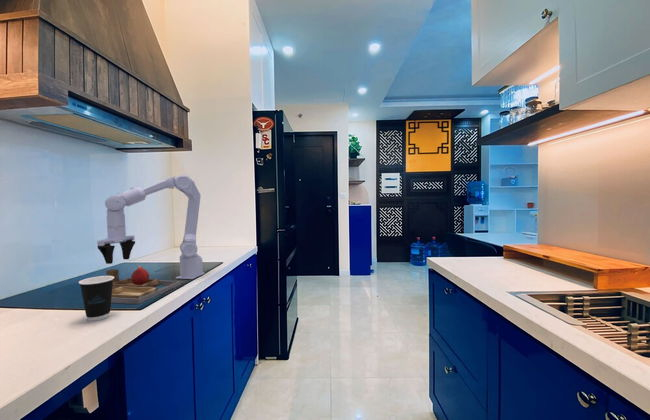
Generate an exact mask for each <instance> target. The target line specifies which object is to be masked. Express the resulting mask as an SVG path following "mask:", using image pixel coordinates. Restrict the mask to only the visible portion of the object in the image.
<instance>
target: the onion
mask: <svg viewBox="0 0 650 420" xmlns="http://www.w3.org/2000/svg"><path fill="white" fill-rule="evenodd" d="M130 278H131V281H132V283H133V284H134V285H143V284H145V283H146V282H147V281H148V280H149V279H150V272H148V271H147V270H146V269H145V268H143V266H142V265H139V266H138V267H137V268H136V269H135V270H134V271H133V272H132V274H131V275H130Z"/></svg>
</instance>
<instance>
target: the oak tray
mask: <svg viewBox="0 0 650 420" xmlns="http://www.w3.org/2000/svg"><path fill="white" fill-rule="evenodd" d="M157 289H158V287H127V286H122V287H119V288H116V289H114V290H113V287H112V297H117V298H141V297H143V296H145V295H148V294H150V293H152V292H155V291H157Z"/></svg>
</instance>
